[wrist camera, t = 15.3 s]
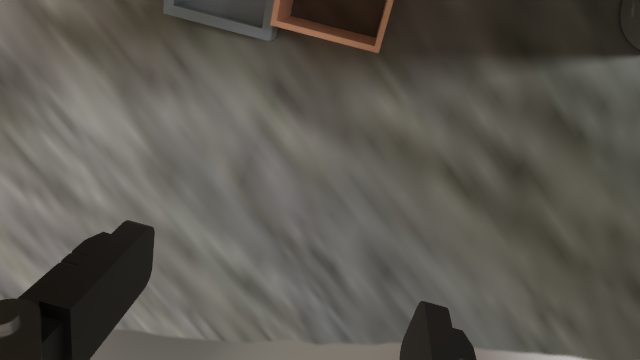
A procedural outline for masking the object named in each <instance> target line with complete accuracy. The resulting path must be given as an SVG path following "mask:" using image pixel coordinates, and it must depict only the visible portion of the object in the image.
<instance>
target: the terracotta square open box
mask: <svg viewBox="0 0 640 360" xmlns="http://www.w3.org/2000/svg"><path fill="white" fill-rule="evenodd" d="M393 1H394V0H386V2H385V5H384V9H383V13H382V16H381V20H380V23H379V27H378V31H377V34H376V38H374V37H370V36H366V35H362V34H359V33H355V32H351V31H347V30H343V29H339V28H336V27H332V26H328V25H324V24H320V23H316V22H313V21H309V20H305V19H301V18H297V17H293V16H290V15H291V10H292V5H293V0H274V5H273V11H272V17H271V23H270V25H272V26H276V27H280V28H283V29H287V30H291V31H295V32H299V33H303V34H306V35H310V36H314V37H318V38H322V39H325V40H329V41H333V42H337V43H341V44H345V45H348V46H352V47H356V48H360V49H364V50H368V51H371V52H375V53H379V50H380V47H381V43H382V40H383V36H384V33H385V29H386V26H387V22H388V19H389V15H390V12H391V8H392V5H393Z"/></svg>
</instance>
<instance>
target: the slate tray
mask: <svg viewBox="0 0 640 360" xmlns="http://www.w3.org/2000/svg"><path fill="white" fill-rule="evenodd" d="M273 5H274V0H164V6H163V14H167V15H171V16H174V17H178V18H182V19H186V20H190V21H194V22H197V23H201V24H205V25H209V26H213V27H216V28H220V29H224V30H228V31H232V32H235V33H239V34H243V35H247V36H251V37H255V38H258V39H262V40H266V41H272V40H274V39H276V38H277V33H278V27H276V26H272V25H270V23H271V17H272V11H273Z"/></svg>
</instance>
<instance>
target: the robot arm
mask: <svg viewBox="0 0 640 360" xmlns="http://www.w3.org/2000/svg"><path fill="white" fill-rule="evenodd" d="M620 22H621V27H622V30H623V33H624V35H625V37H626V38H627V40H628V41H629V42H630V43H631V44H632V45H633V46H634V47H635V48H637V49H639V50H640V0H623V1H622V6H621V11H620ZM154 233H155V232H154V228H153V227H151V226H148V225H144V224H140V223H137V222H133V221H129V220H127V221H125V222H123V223H122V224H121V225H120V226H119V227H118V228H117V229H116V230H115V231H114V232H113V233H112V234H109V233H106V232H102V233H100V234H97V235H95V236H93V237H91V238H88V239H86V240H84V241H83V242H82V243H81V244H80V245H79V246H78V247H76V248H75V249H74V250H73V251H72V253H71V254H70V253H69V254H68V255H67V256H66V257H65V258H64V259H63V260H61V263H58V264H57V265H56V266H54V267H53V268H52V269H51V270H50V271H49V272H48V273H46V274H45V275H44V276H43V277H42V278H41V279H39V280H38V281H37V282H36V283H35V284H34V285H33V286H31V287H30V288H29V289H28V290H27V291H26V292H24V293H23V294H22V295H21V296H20V297H19V298H11V299H3V300H0V360H90V358H91V357H92V356H93V354H94V353H95V352H96V351H97V349H98V348H99V347H100V345H101V344H102V343H103V341H104V340H105V339H106V338H107V336H108V335H109V334H110V332H111V331H112V330H113V329H114V327H115V326H116V325H117V323H118V322H119V321H120V320H121V318H122V317H123V316H124V314H125V313H126V312H127V310H128V309H129V308H130V307H131V305H132V304H133V303H134V301H135V300H136V299H137V298H138V296H139V295H140V294H141V292H142V291H143V290H144V288H145V287H146V285H147V283H148V281H149V278H150V275H151V271H152V263H153V248H154ZM400 360H476V356H475V352H474V348H473V346H472V344H471V343H470V341H469V340H468V338H467V337H466V335H465V334H464V332H463V331H462V330H458V329H455V328H452V323H451V319H450V314H449V310H448V308H446V307H443V306H439V305H435V304H432V303H428V302H424V301H421V302H420V303H419V304H418V306H417V309H416V311H415V313H414V315H413V318H412V320H411V322H410V325H409V327H408V329H407V331H406V334H405V336H404V339H403V342H402V345H401V351H400Z"/></svg>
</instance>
